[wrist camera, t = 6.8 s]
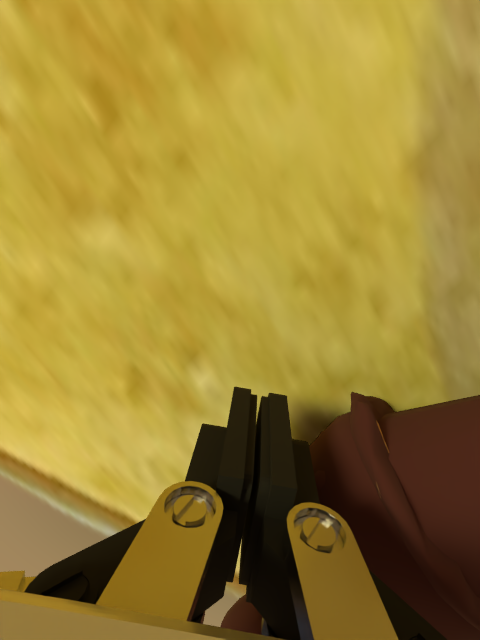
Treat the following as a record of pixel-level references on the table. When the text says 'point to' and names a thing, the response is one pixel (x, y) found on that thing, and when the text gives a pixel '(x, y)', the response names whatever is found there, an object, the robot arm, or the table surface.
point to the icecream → (405, 505)
